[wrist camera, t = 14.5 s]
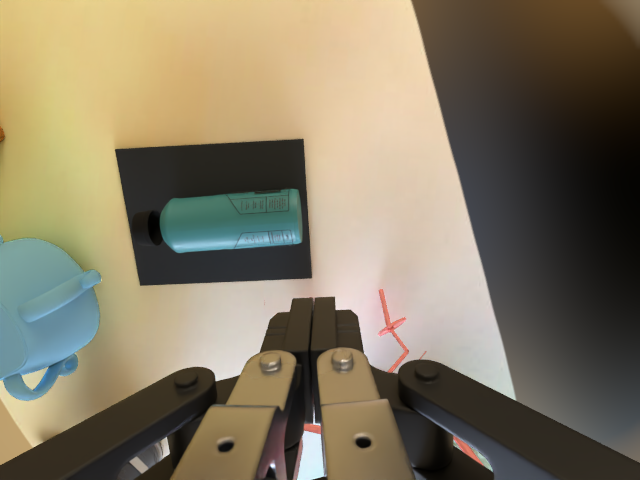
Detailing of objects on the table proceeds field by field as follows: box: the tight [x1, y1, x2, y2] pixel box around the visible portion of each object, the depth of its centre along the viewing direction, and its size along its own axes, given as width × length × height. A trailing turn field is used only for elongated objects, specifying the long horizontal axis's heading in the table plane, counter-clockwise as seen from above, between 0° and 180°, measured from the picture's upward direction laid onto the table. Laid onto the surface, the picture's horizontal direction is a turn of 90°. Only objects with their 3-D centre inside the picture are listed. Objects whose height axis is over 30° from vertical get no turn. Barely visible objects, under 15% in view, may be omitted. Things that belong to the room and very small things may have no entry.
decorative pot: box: [0, 235, 101, 401], centre depth 43 cm, size 16×16×14 cm
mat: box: [115, 139, 312, 286], centre depth 46 cm, size 22×17×1 cm
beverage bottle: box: [132, 188, 302, 253], centre depth 43 cm, size 6×7×20 cm
